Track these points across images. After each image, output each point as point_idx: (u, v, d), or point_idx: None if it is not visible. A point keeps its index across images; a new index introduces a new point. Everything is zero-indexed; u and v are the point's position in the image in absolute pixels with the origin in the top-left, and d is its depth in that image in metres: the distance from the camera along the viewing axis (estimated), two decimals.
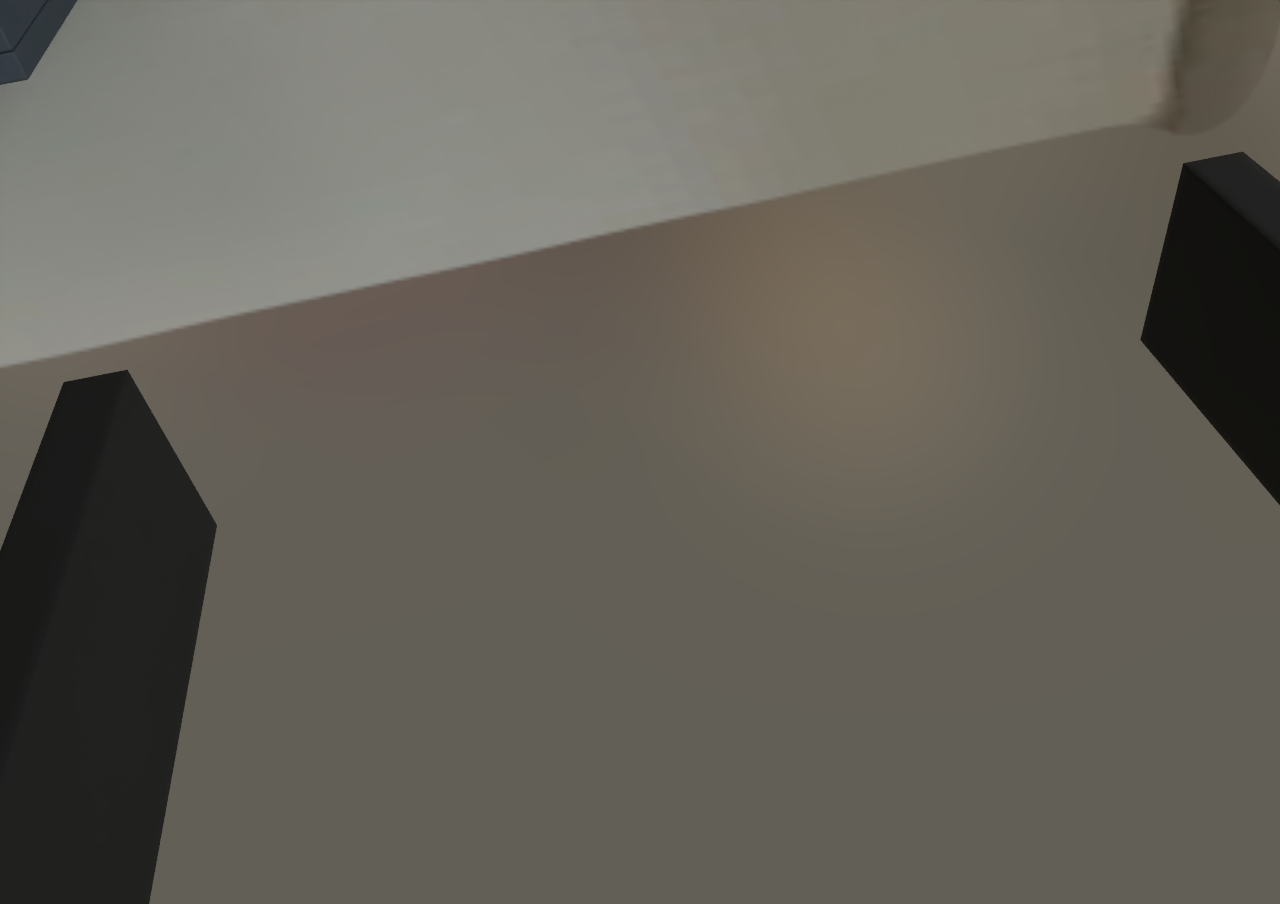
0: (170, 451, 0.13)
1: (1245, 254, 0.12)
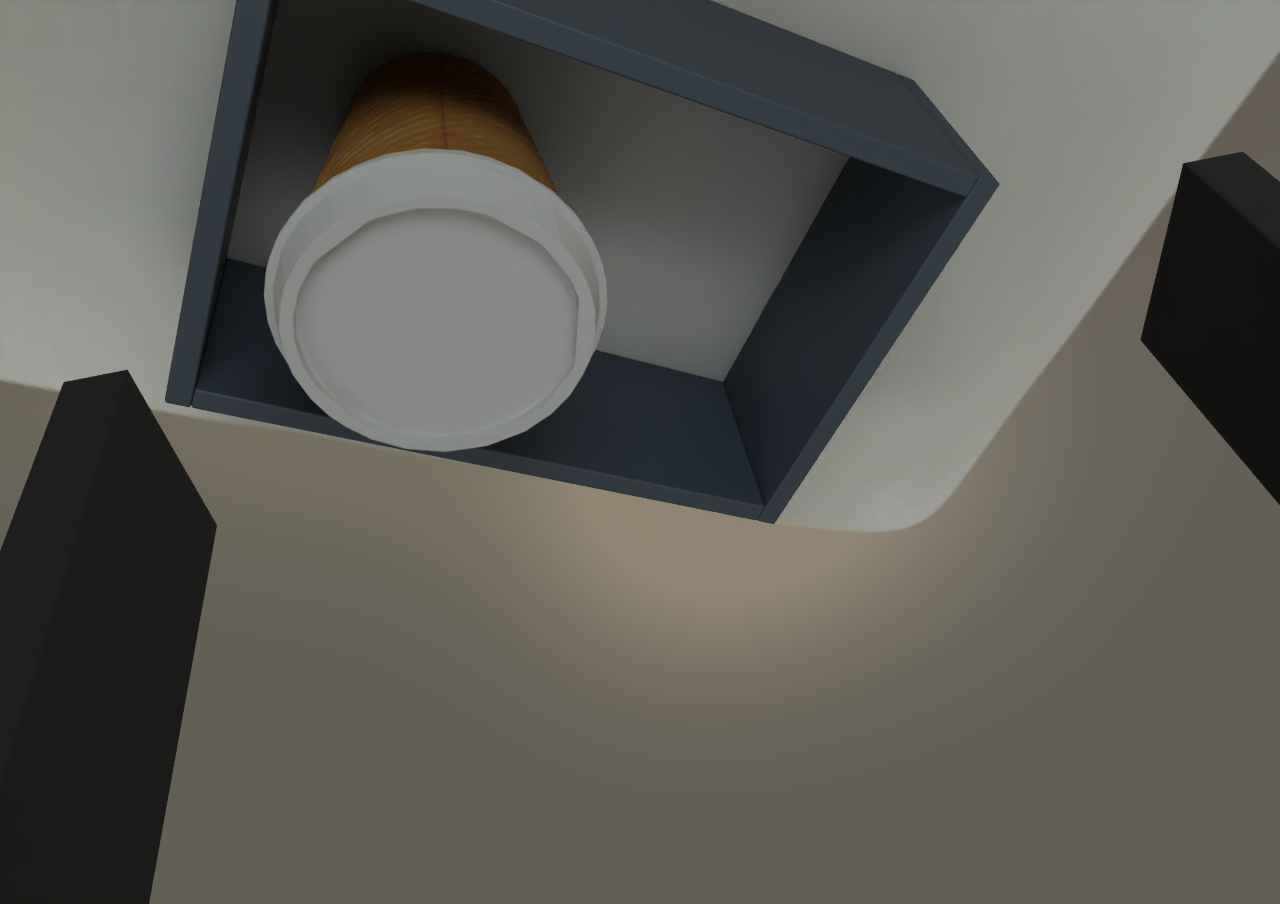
0: (170, 451, 0.13)
1: (1245, 254, 0.12)
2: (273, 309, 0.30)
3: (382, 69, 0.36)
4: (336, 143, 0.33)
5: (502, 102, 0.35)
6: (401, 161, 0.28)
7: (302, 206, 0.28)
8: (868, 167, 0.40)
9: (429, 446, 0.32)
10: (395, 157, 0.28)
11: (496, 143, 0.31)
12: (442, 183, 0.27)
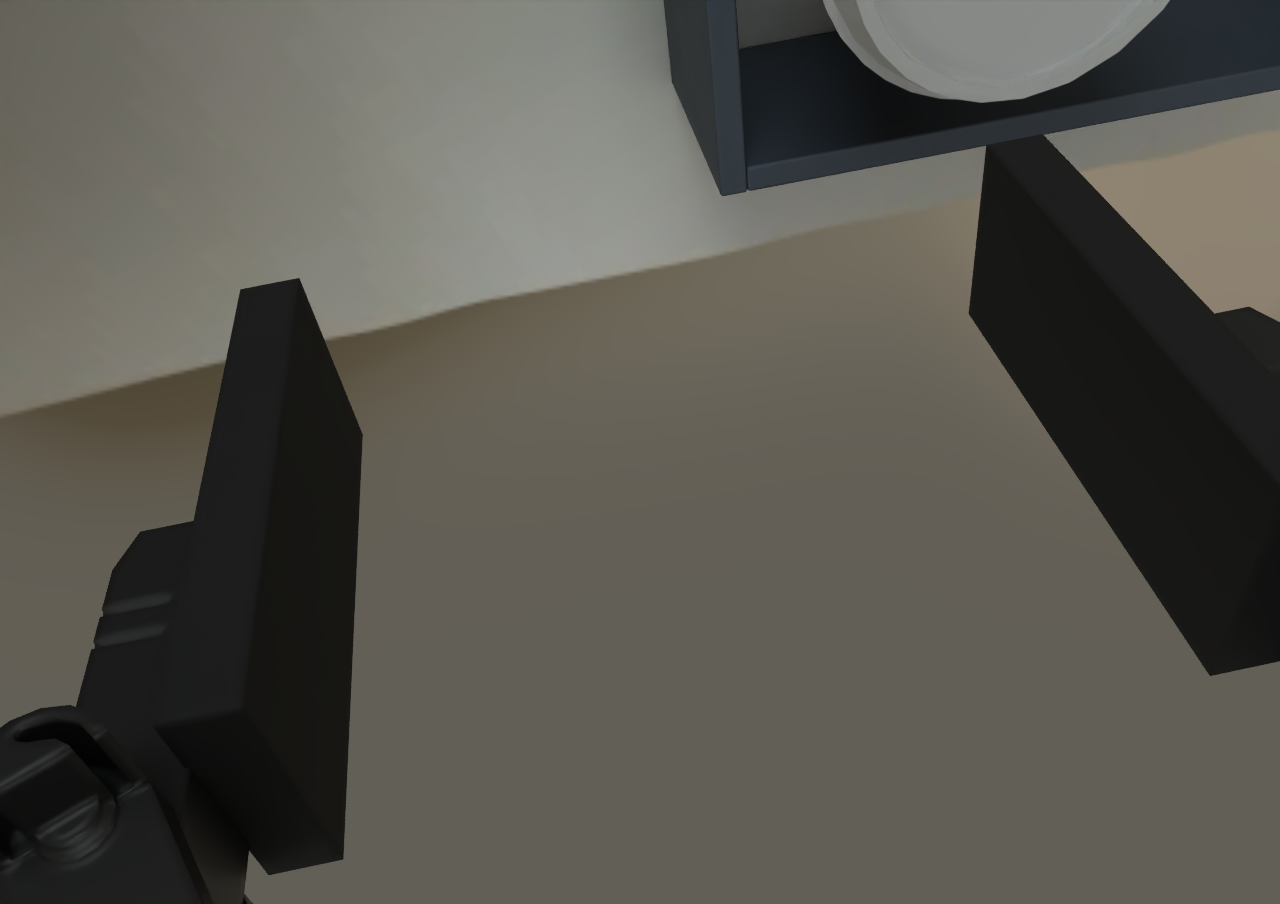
0: (330, 358, 0.14)
1: (1030, 229, 0.13)
2: None
3: None
4: None
5: None
6: None
7: None
8: None
9: (1050, 83, 0.26)
10: None
11: None
12: None
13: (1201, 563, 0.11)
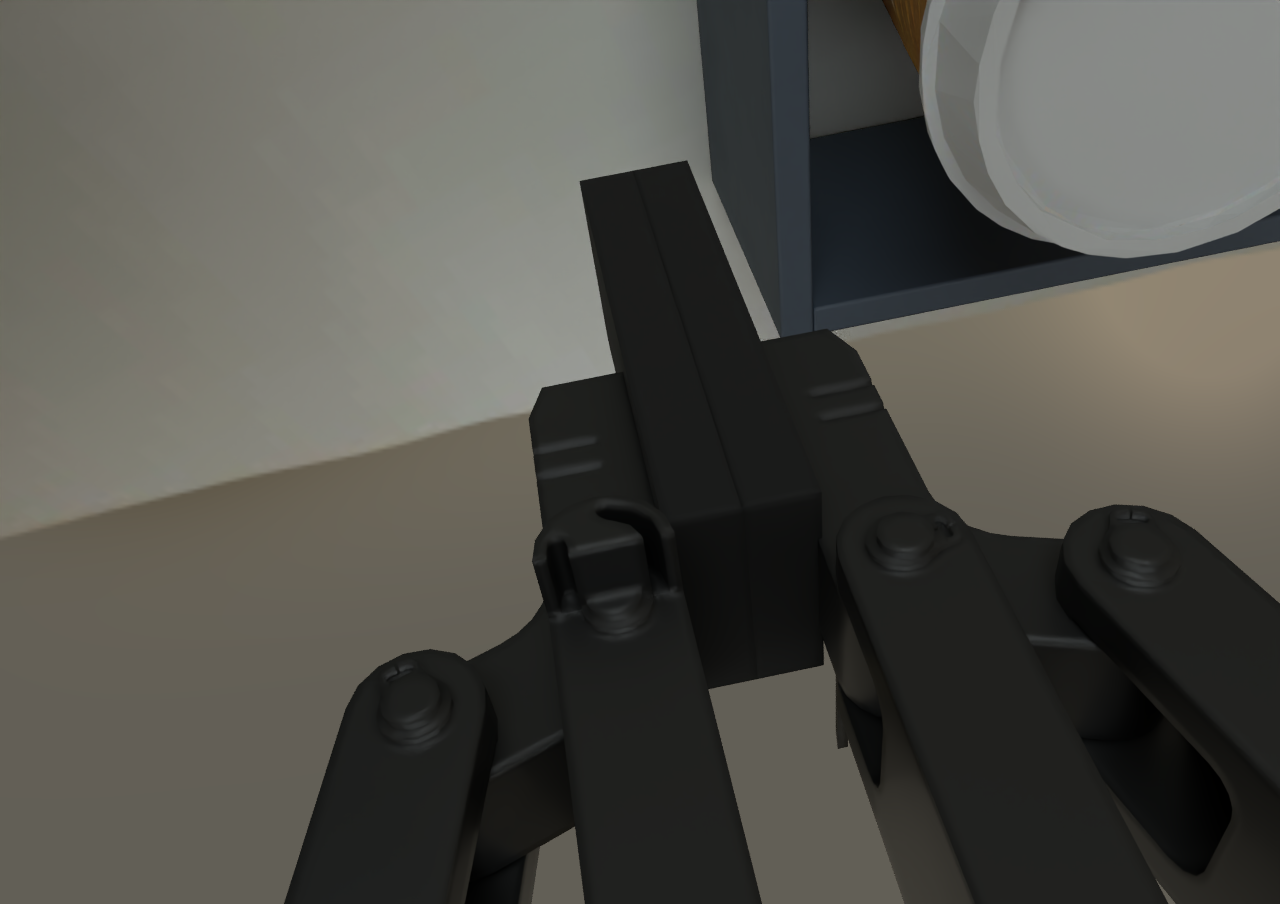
0: None
1: None
2: (940, 126, 0.20)
3: None
4: None
5: None
6: None
7: None
8: None
9: (1213, 233, 0.21)
10: None
11: None
12: None
13: None
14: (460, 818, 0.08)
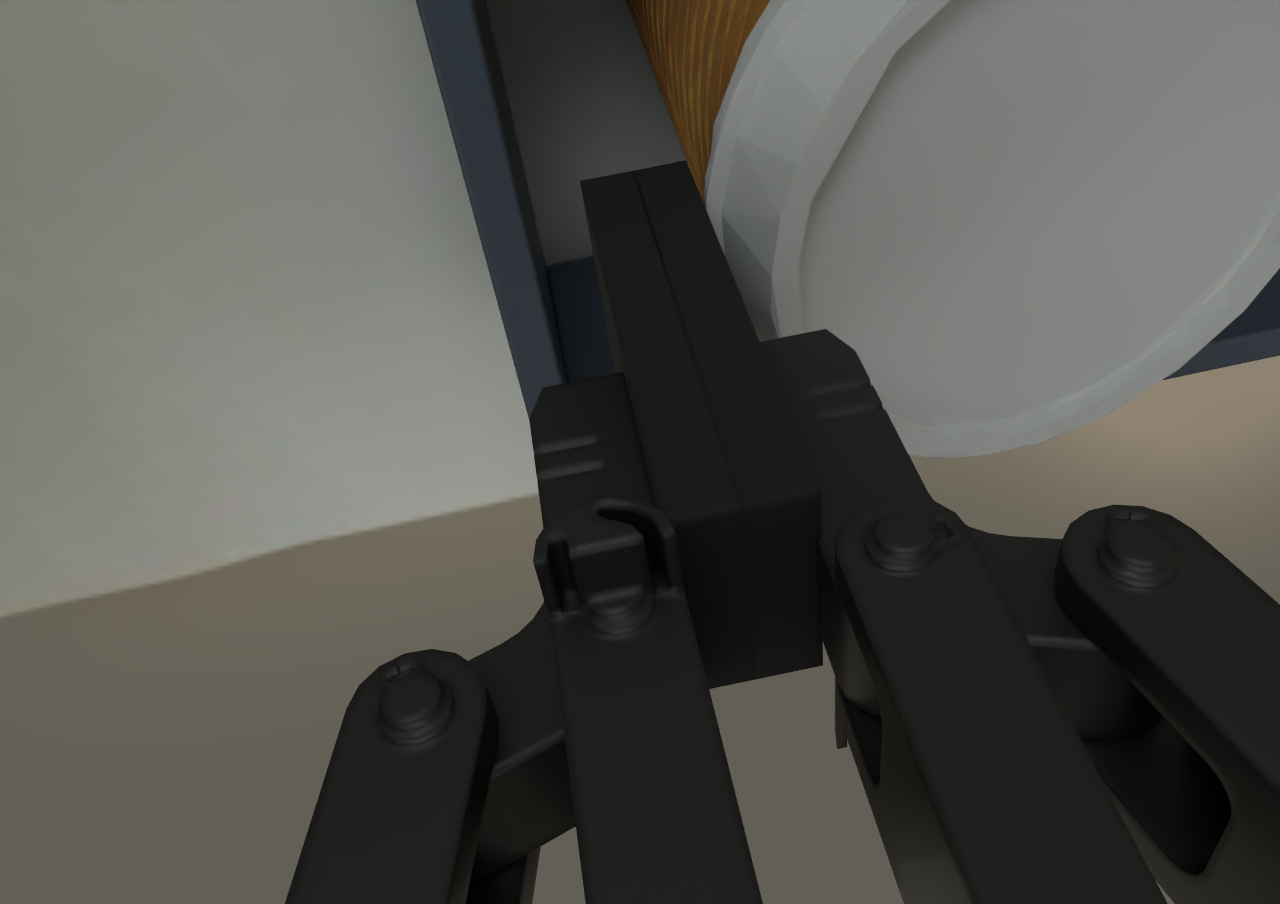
0: None
1: None
2: None
3: None
4: (664, 7, 0.18)
5: None
6: None
7: (731, 111, 0.14)
8: None
9: (1081, 418, 0.17)
10: None
11: None
12: None
13: None
14: (461, 818, 0.08)
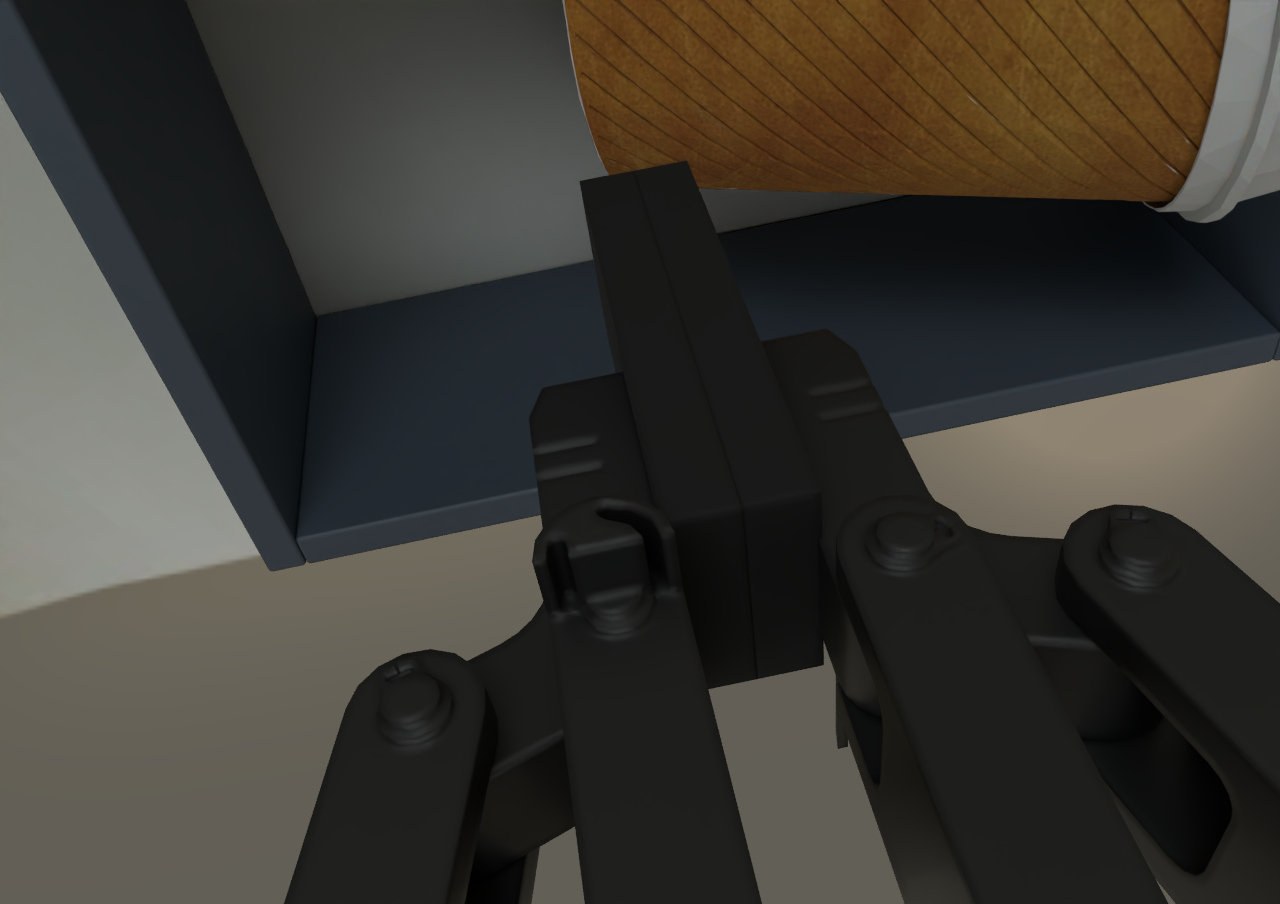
0: None
1: None
2: None
3: None
4: None
5: None
6: None
7: None
8: None
9: None
10: None
11: None
12: None
13: None
14: (460, 818, 0.08)
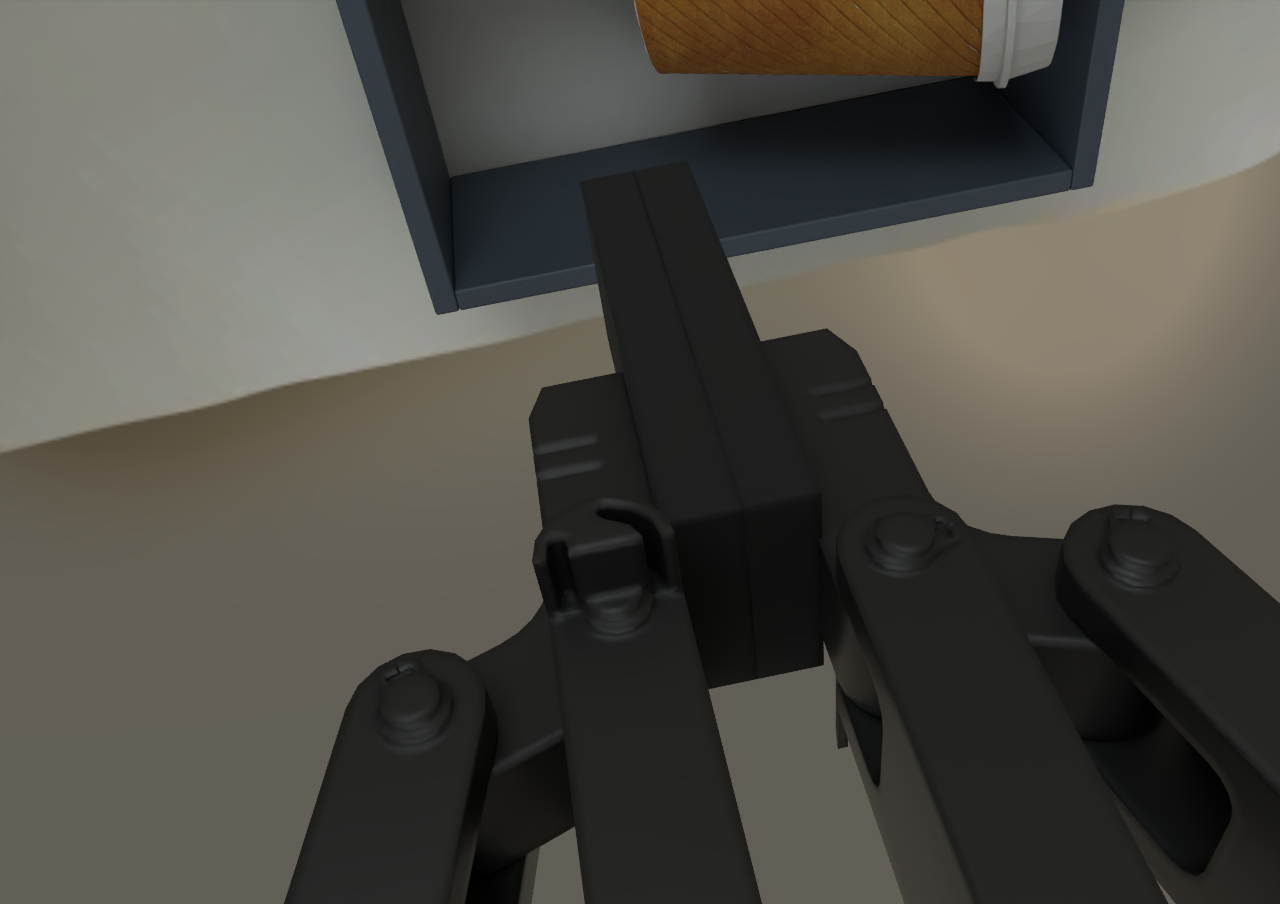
0: None
1: None
2: (1016, 15, 0.30)
3: None
4: None
5: None
6: None
7: None
8: None
9: None
10: None
11: None
12: None
13: None
14: (460, 818, 0.08)
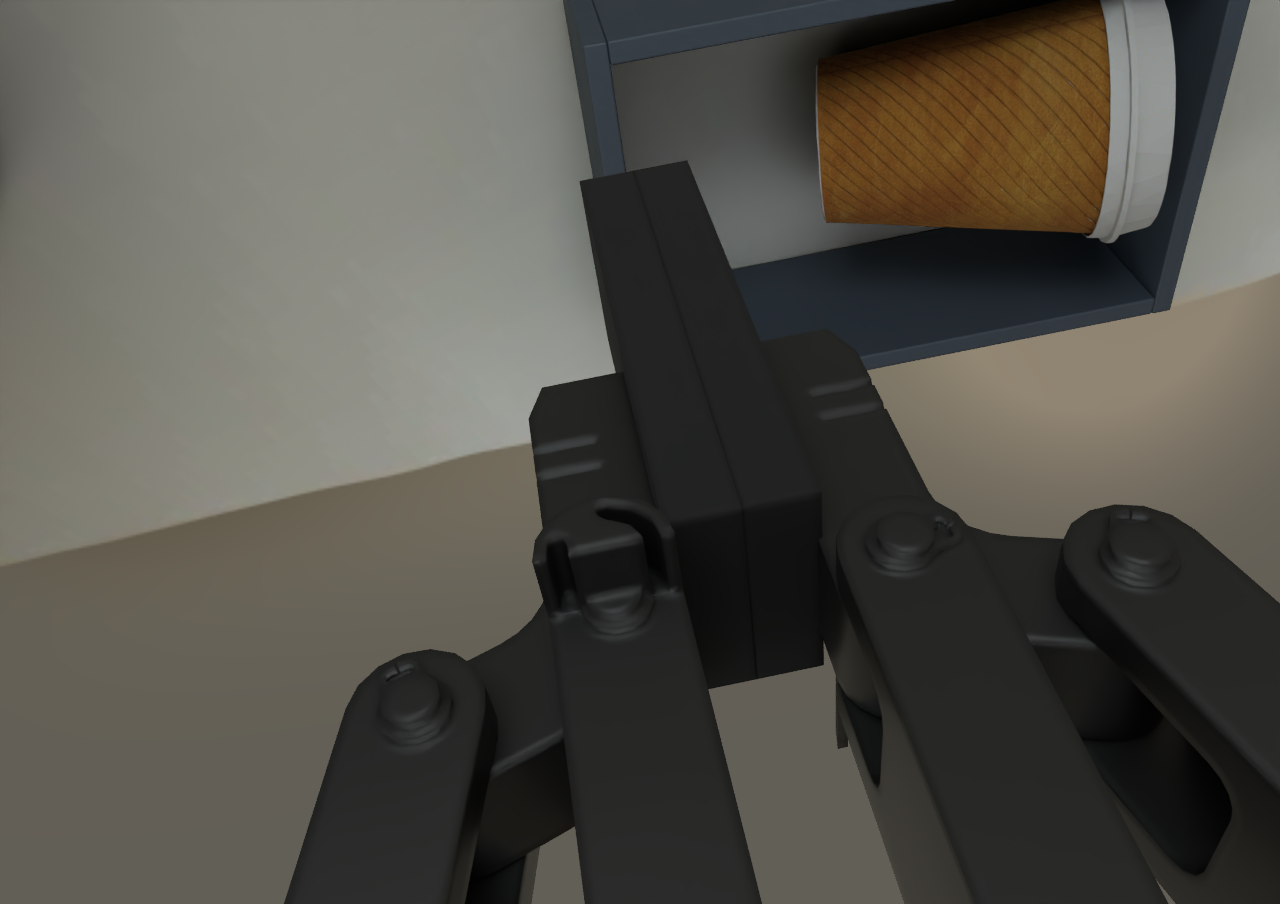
0: None
1: None
2: (1128, 201, 0.38)
3: (829, 117, 0.40)
4: (956, 141, 0.39)
5: None
6: (1135, 26, 0.36)
7: (1138, 110, 0.36)
8: None
9: None
10: (1134, 27, 0.36)
11: (1035, 10, 0.39)
12: (1155, 9, 0.37)
13: None
14: (460, 818, 0.08)
